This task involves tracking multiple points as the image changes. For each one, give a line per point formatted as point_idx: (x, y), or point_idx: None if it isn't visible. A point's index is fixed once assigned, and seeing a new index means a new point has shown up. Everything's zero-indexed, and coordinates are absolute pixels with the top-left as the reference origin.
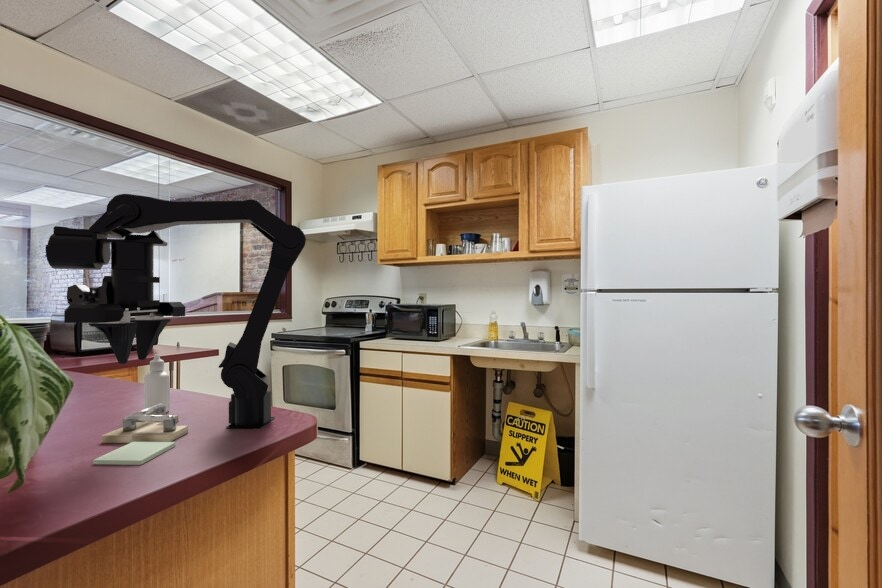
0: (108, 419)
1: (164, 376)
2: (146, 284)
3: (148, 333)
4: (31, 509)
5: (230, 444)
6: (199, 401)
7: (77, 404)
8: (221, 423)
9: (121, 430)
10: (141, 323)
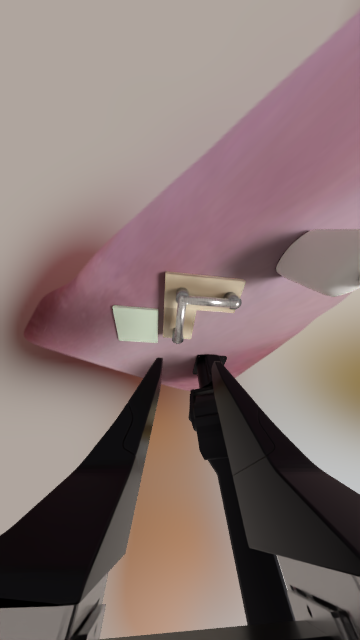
0: (281, 190)
1: (329, 293)
2: None
3: (235, 457)
4: (46, 318)
5: None
6: None
7: None
8: (212, 347)
9: (182, 284)
10: (279, 522)
